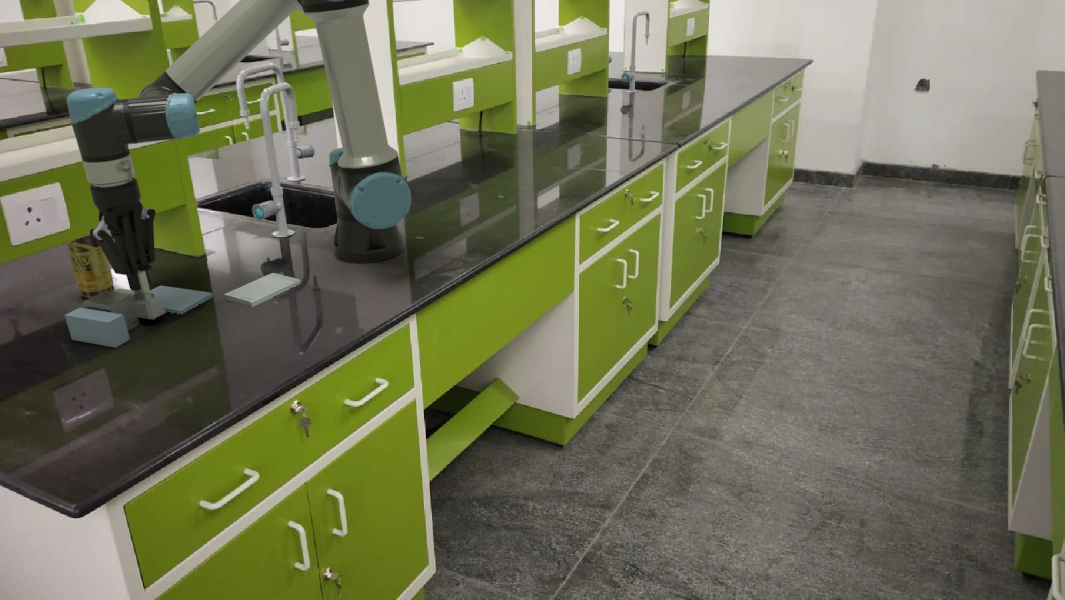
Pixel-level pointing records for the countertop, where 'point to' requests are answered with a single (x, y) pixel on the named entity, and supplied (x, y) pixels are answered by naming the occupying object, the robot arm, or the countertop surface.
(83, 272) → the sauce bottle
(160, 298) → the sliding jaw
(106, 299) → the steel block
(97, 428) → the countertop surface
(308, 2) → the robot arm
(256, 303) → the hard drive
